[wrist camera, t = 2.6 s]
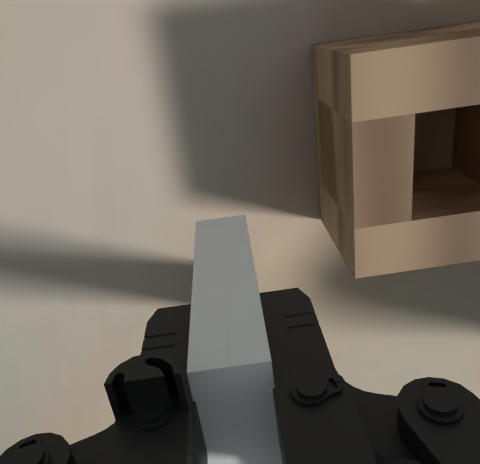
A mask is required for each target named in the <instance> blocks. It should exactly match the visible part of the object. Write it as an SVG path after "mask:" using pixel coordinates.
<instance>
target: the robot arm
mask: <svg viewBox="0 0 480 464" xmlns="http://www.w3.org/2000/svg"><path fill="white" fill-rule="evenodd" d="M144 338H145V340H144V341H143V346H142V352H141V355H139V356H135V357H132V358H130V359H129V360H127V361H125V362H123V363H121V364H120V365H118V366H117V367H116V368H115V369H114V370H113V371H112V372H111V373H110V374H109V376H108V378H107V380H106V382H105V383H104V386H105V389H106V392H107V395H108V398H109V401H110V404H111V407H112V410H113V413H114V416H115V419H116V420H115V423H114V424H112V425H111V426H110V427H108V428H107V429H105V430H103V431H101V432H99V433H97V434H95V435H93V436H91V437H88V438H86V439H83V440H81V441H78V442H76V443H74V444H71V445H69V443H68V442H67V441H66V440H65V439H64V438H63V437H62V436H61V435H57V434H54V433H41V434H35V435H32V436H30V437H27V438H25V439H22V440H20V441H19V442H17V443H16V444H14V445H13V446H11V447H10V448H8V449H7V450H5V452H4V453H3V454H2V455H1V456H0V464H480V399H479V398H478V397H476V396H475V395H474V394H473V393H472V392H470V391H469V390H467V389H466V388H465V387H463V386H462V385H460V384H457V383H455V382H452V381H449V380H446V379H442V378H432V377H427V378H421V379H415V380H413V381H411V382H409V383H408V384H406V385H404V386H403V388H402V389H401V391H400V393H399V394H398V396H392V395H383V394H375V393H370V392H366V391H362V390H360V389H357V388H355V387H353V386H351V385H350V384H348V383H347V382H345V380H344V379H343V377H342V376H340V375H339V374H338V373H337V371H336V369H335V367H334V364H333V362H332V359H331V356H330V353H329V350H328V348H327V345H326V342H325V339H324V336H323V334H322V331H321V328H320V326H319V322H318V320H317V317H316V314H315V311H314V308H313V306H312V303H311V300H310V298H309V297H308V296H307V295H306V294H304V293H303V292H302V291H301V290H300V289H298V288H292V289H285V290H278V291H271V292H264V293H259V289H258V283H257V278H256V272H255V267H254V261H253V256H252V250H251V245H250V239H249V234H248V228H247V222H246V217H245V215H239V216H232V217H225V218H218V219H211V220H204V221H196V234H195V250H194V266H193V282H192V298H191V304H188V305H181V306H174V307H167V308H160V309H157V311H156V312H155V313H154V314H153V316H152V317H151V318H150V319H149V321H148V322H147V326H146V331H145V336H144Z"/></svg>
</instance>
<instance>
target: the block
mask: <svg viewBox="0 0 480 464" xmlns="http://www.w3.org/2000/svg"><path fill="white" fill-rule="evenodd" d="M312 62H313V80H314V98H315V116H316V135H317V153H318V171H319V189H320V207H321V221H322V222H323V224H324V226H325V227H326V229H327V231H328V233H329V234H330V236H331V238H332V239H333V241H334V243H335V245H336V246H337V248H338V250H339V251H340V253H341V255H342V257H343V258H344V260H345V262H346V263H347V265H348V267H349V269H350V270H351V272H352V274H353V275H354V277H355V279H356V278H363V277H370V276H377V275H384V274H391V273H397V272H404V271H411V270H418V269H425V268H432V267H438V266H445V265H452V264H459V263H466V262H472V261H479V260H480V22H472V23H465V24H458V25H451V26H444V27H437V28H430V29H422V30H415V31H408V32H401V33H394V34H387V35H380V36H373V37H365V38H358V39H351V40H344V41H337V42H330V43H323V44H315V45H312Z"/></svg>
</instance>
